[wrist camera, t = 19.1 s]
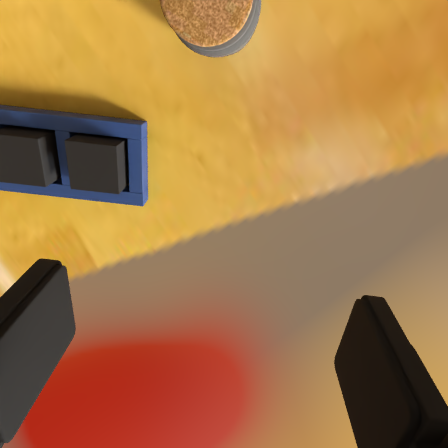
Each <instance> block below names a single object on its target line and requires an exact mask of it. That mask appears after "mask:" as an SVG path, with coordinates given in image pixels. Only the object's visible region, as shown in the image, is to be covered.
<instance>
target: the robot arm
mask: <svg viewBox="0 0 448 448" xmlns="http://www.w3.org/2000/svg"><path fill="white" fill-rule="evenodd" d="M74 334H75V321H74V314H73V308H72V301H71V294H70V288H69V281H68V275H67V269H66V267H65V266H62V264H61V262H60V261H58V260H50V259H39V260H37V261H36V262H35V263H34V264H33V265H32V266H31V267H30V268H29V269H28V270H27V271H26V272H25V273H24V274H23V275H22V276H21V277H20V278H19V279H18V280H17V281H16V282H15V283H14V284H13V285H12V286H11V287H10V288H9V289H8V290H7V291H6V292H5V293H4V294H3V295H2V296H1V297H0V448H2V446H3V444H4V443H8V442H10V441H11V440H12V439H13V437H14V435H15V434H16V432H17V431H18V429H19V427H20V426H21V424H22V422H23V420H24V419H25V417H26V416H27V414H28V412H29V411H30V409H31V407H32V406H33V404H34V402H35V401H36V399H37V397H38V396H39V394H40V392H41V391H42V389H43V387H44V385H45V384H46V382H47V381H48V379H49V377H50V376H51V374H52V372H53V371H54V369H55V367H56V366H57V364H58V362H59V361H60V359H61V357H62V356H63V354H64V352H65V351H66V349H67V347H68V346H69V344H70V342H71V341H72V339H73V337H74ZM334 364H335V370H336V373H337V377H338V380H339V384H340V387H341V391H342V394H343V398H344V401H345V405H346V408H347V412H348V415H349V419H350V422H351V426H352V429H353V433H354V436H355V440H356V443H357V446H358V448H448V406H447V404H446V403H445V401H444V399H443V397H442V396H441V394H440V392H439V390H438V389H437V387H436V386H435V383H434V382H433V380H432V378H431V377H430V375H429V373H428V371H427V370H426V368H425V366H424V364H423V363H422V361H421V359H420V357H419V356H418V354H417V352H416V351H415V349H414V348H413V346H412V345H411V344H410V342H409V341H408V339H407V337H406V335H405V334H404V332H403V330H402V329H401V327H400V325H399V323H398V321H397V320H396V318H395V316H394V315H393V312H392V311H391V309H390V307H389V305H388V304H387V302H386V300H385V299H384V298H383V297H376V296H368V295H364V296H363V297H362V298H361V299H357V300H356V301H355V304H354V306H353V309H352V312H351V314H350V317H349V320H348V323H347V326H346V328H345V331H344V334H343V336H342V339H341V342H340V345H339V347H338V350H337V353H336V356H335V362H334Z"/></svg>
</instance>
